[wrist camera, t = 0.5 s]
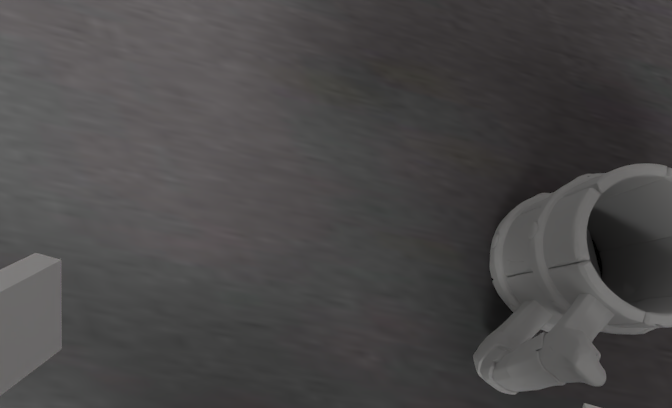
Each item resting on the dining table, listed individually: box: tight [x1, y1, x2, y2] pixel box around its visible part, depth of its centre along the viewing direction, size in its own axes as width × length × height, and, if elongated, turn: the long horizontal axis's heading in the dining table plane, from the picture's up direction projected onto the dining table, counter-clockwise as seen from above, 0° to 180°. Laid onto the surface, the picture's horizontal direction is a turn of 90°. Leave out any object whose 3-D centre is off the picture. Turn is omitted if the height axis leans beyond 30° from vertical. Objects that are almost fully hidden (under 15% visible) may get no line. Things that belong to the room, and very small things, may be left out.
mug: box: [473, 163, 672, 395], centre depth 22 cm, size 8×12×12 cm, turn 138°
